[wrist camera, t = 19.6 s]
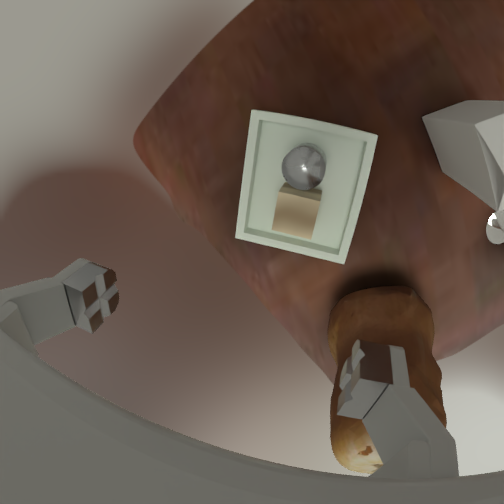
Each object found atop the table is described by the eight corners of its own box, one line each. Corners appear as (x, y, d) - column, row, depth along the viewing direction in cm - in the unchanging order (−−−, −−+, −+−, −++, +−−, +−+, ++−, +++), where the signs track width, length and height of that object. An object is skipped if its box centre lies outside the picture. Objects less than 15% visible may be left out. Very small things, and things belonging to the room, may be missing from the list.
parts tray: (257, 109, 33) (251, 109, 31) (374, 133, 31) (377, 135, 28) (241, 230, 41) (235, 237, 39) (343, 255, 38) (344, 264, 36)
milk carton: (420, 116, 28) (500, 129, 12) (466, 99, 25) (565, 105, 9) (441, 172, 30) (521, 234, 14) (485, 154, 27) (581, 202, 11)
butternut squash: (353, 348, 45) (341, 496, 23) (314, 286, 42) (279, 451, 20) (433, 316, 39) (466, 467, 17) (405, 244, 35) (457, 409, 14)
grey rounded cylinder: (281, 155, 34) (272, 162, 30) (312, 135, 32) (308, 139, 28) (302, 186, 35) (297, 197, 31) (333, 166, 33) (333, 175, 29)
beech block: (285, 181, 35) (278, 191, 31) (322, 190, 35) (320, 201, 31) (278, 216, 38) (271, 229, 34) (314, 224, 37) (311, 239, 33)
